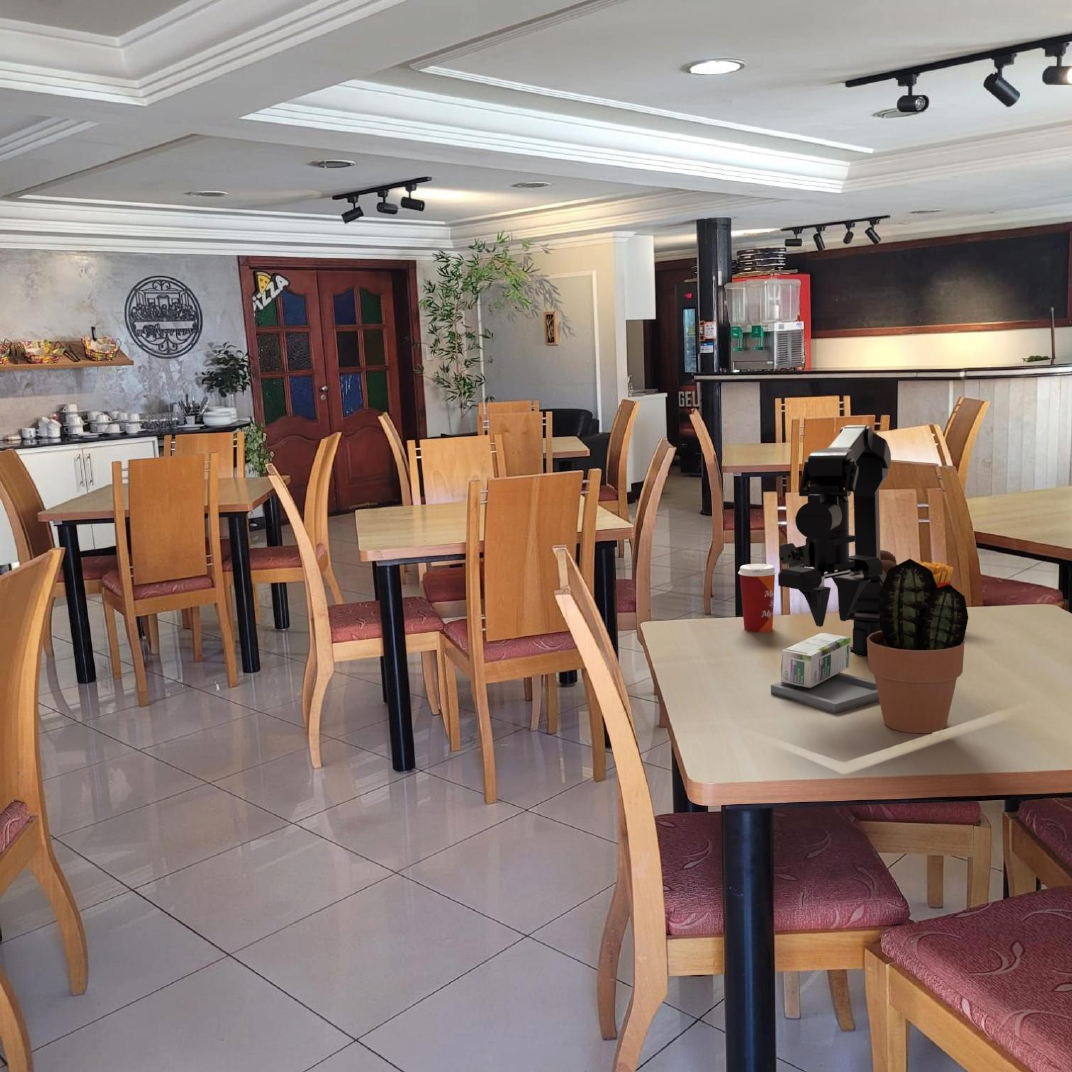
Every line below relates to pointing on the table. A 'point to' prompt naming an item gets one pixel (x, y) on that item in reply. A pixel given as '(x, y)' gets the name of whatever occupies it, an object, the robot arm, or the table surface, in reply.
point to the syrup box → (815, 659)
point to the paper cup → (757, 596)
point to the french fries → (936, 567)
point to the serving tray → (831, 693)
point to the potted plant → (917, 648)
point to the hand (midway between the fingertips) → (831, 623)
